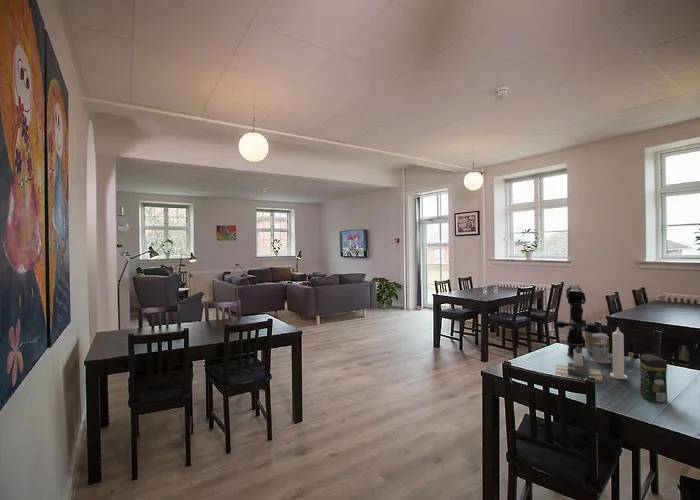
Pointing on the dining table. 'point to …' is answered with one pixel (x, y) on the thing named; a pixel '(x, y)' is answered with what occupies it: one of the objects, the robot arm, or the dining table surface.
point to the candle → (618, 355)
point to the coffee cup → (591, 338)
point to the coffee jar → (653, 378)
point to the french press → (600, 349)
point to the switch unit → (578, 372)
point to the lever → (578, 357)
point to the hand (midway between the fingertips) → (576, 340)
